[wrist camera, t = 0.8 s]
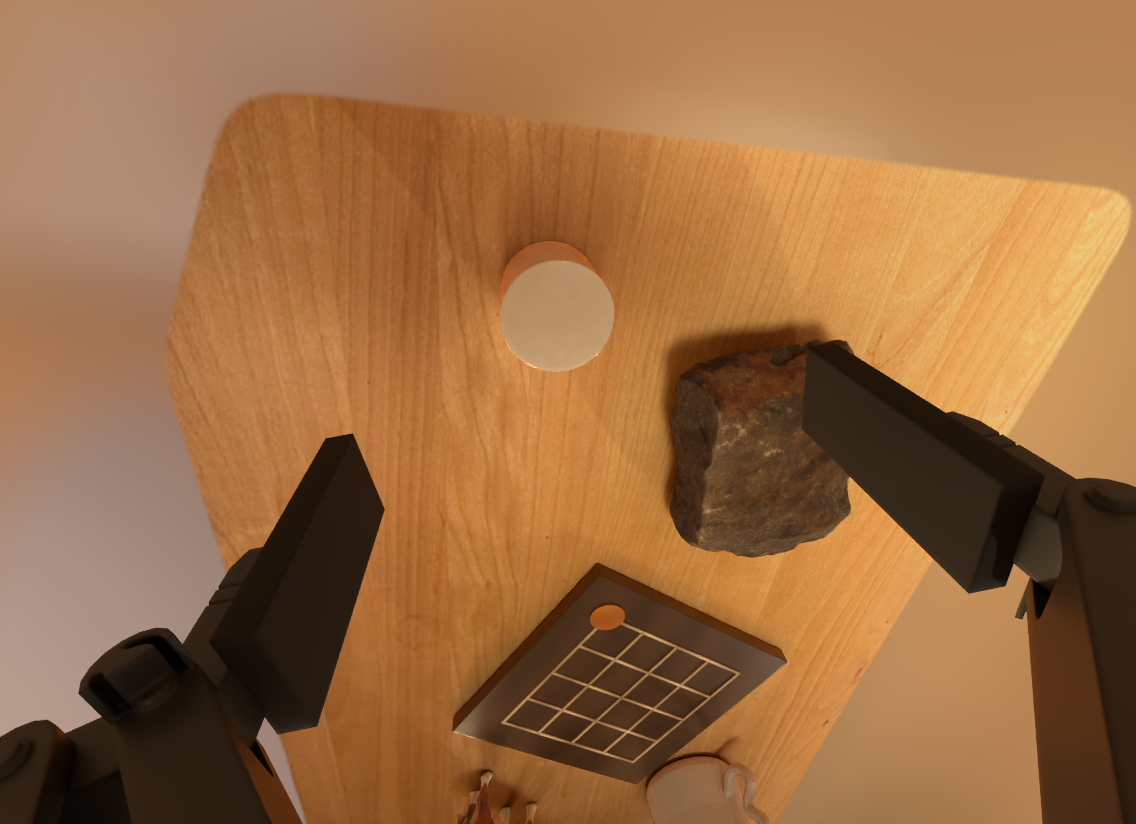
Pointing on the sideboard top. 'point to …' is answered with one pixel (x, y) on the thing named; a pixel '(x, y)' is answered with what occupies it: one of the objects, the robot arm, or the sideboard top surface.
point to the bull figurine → (486, 807)
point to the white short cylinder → (554, 307)
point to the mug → (703, 793)
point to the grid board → (617, 680)
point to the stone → (752, 456)
